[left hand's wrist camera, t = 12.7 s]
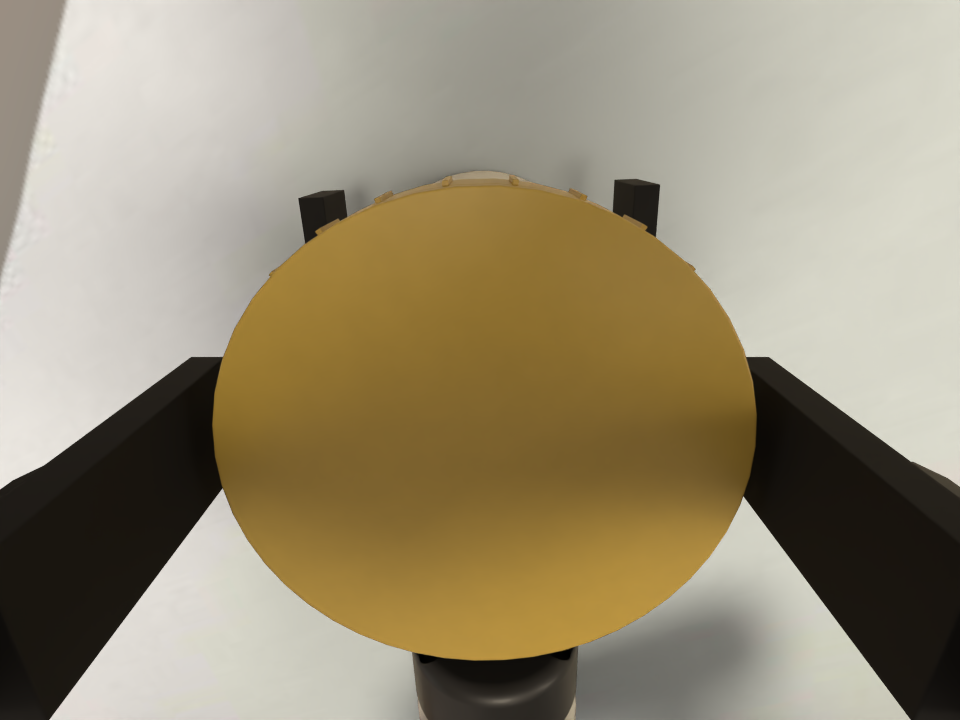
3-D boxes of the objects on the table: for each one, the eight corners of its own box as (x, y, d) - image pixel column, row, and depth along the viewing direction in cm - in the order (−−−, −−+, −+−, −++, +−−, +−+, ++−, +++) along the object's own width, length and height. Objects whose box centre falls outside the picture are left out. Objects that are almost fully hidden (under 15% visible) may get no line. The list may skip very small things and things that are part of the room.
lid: (196, 513, 13) (153, 569, 12) (341, 72, 10) (311, 57, 8) (576, 648, 15) (589, 715, 13) (819, 311, 11) (881, 342, 10)
